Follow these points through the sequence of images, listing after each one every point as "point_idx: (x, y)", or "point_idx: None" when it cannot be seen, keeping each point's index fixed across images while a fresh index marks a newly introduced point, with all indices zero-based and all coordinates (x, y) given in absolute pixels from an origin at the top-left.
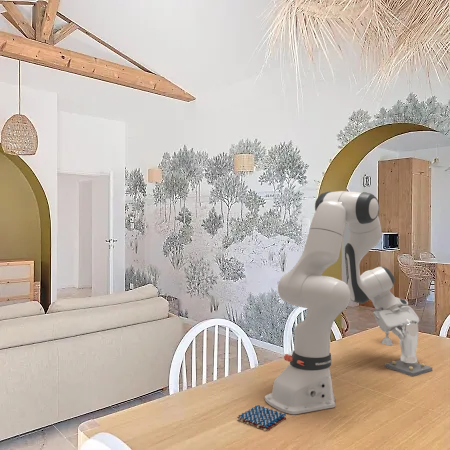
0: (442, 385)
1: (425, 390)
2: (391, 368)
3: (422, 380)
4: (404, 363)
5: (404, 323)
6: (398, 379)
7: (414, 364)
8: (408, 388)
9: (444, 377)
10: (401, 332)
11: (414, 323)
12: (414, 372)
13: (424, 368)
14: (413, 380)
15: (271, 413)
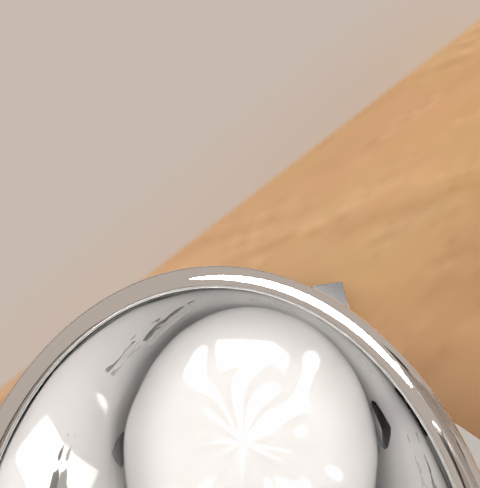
0: (297, 171)
1: (406, 155)
2: None
3: (332, 234)
4: None
5: (466, 455)
6: (441, 284)
7: None
8: (467, 188)
9: (214, 228)
10: (401, 461)
11: (28, 475)
12: (324, 287)
13: None
14: (373, 248)
15: None
